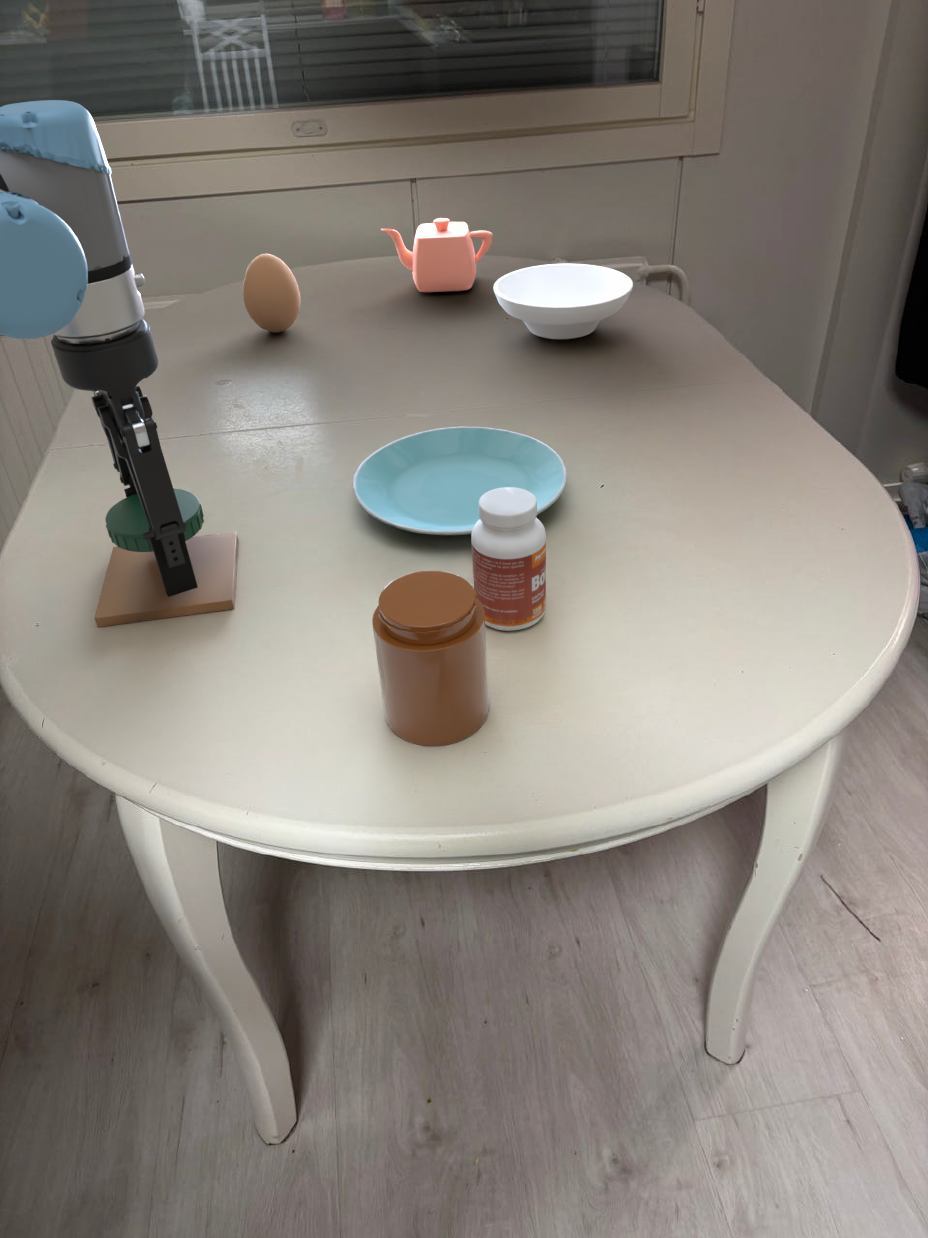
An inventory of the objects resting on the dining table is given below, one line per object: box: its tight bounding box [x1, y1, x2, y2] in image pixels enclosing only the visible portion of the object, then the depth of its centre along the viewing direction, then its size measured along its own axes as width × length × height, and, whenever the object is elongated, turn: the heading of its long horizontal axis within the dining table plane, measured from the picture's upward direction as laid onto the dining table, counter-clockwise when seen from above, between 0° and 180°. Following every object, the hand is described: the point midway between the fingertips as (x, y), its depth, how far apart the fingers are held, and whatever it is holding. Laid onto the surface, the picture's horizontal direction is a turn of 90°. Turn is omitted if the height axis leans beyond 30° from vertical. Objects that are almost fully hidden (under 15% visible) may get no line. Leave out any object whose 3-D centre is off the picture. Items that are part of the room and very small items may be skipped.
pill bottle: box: [470, 487, 547, 632], centre depth 77 cm, size 6×6×11 cm
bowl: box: [493, 263, 634, 340], centre depth 132 cm, size 20×20×7 cm
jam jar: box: [371, 570, 490, 747], centre depth 68 cm, size 8×8×11 cm
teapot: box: [380, 217, 494, 293], centre depth 151 cm, size 12×18×10 cm, turn 90°
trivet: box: [94, 531, 239, 628], centre depth 87 cm, size 12×12×1 cm
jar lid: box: [105, 487, 205, 552], centre depth 83 cm, size 8×8×2 cm
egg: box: [242, 253, 301, 333], centre depth 137 cm, size 8×8×11 cm
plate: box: [352, 426, 568, 536], centre depth 96 cm, size 22×22×3 cm
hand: (169, 567), depth 86 cm, fingers closed on jar lid, 8 cm apart
